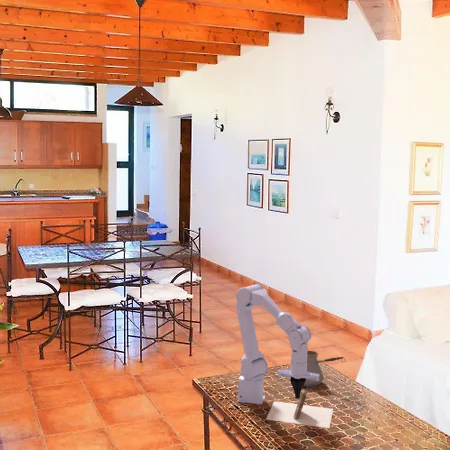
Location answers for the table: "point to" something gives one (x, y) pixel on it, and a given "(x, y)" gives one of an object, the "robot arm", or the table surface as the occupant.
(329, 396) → the handheld gaming device
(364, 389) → the table surface
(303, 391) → the tile
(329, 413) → the mat
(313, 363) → the coffee pot
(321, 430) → the table surface
